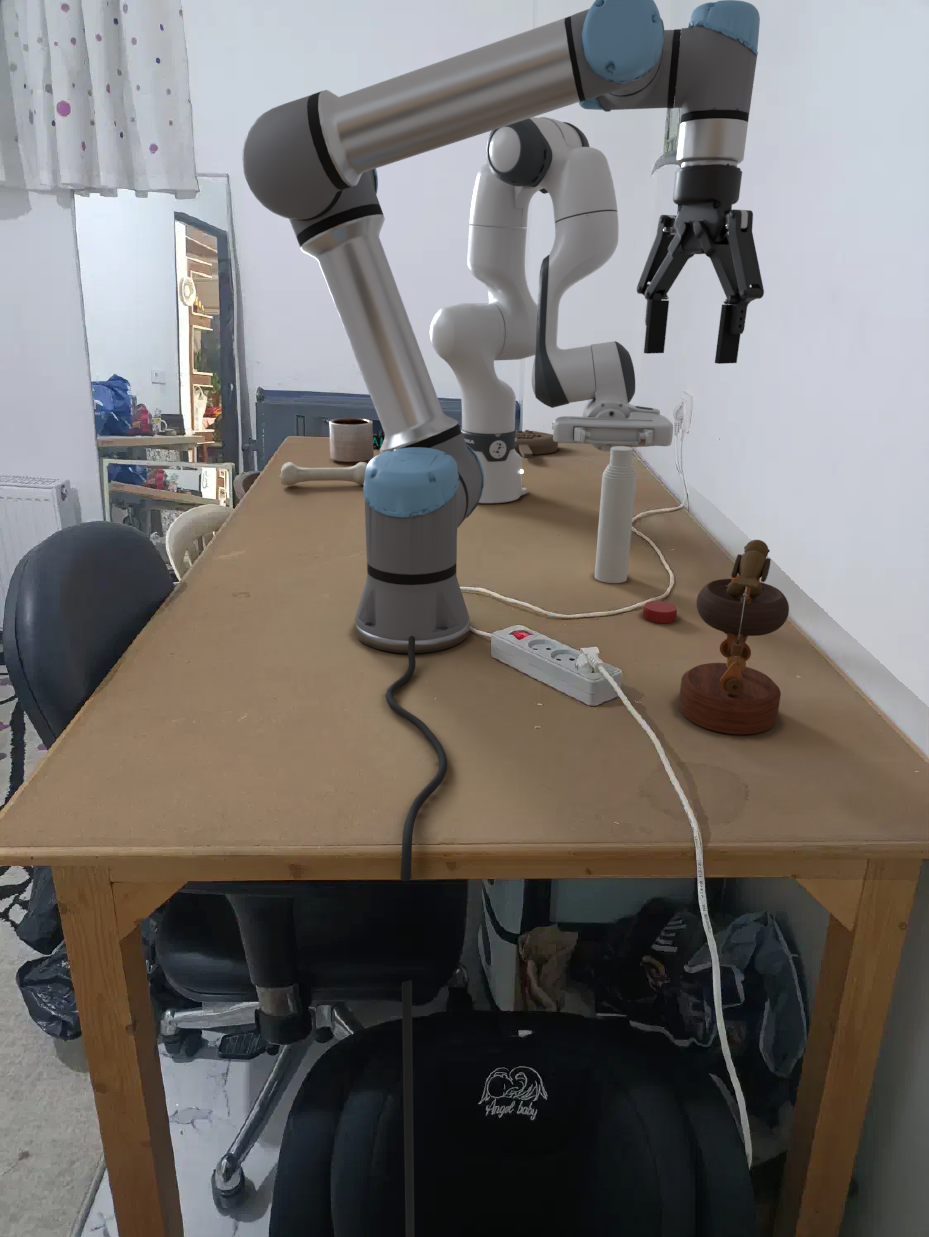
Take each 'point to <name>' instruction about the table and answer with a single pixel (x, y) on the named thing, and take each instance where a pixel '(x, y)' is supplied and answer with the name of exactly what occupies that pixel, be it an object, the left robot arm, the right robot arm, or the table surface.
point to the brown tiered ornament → (736, 650)
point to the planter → (351, 440)
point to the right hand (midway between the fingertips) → (615, 439)
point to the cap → (660, 612)
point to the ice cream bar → (534, 443)
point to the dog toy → (322, 474)
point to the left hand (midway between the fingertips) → (687, 358)
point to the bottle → (616, 517)
